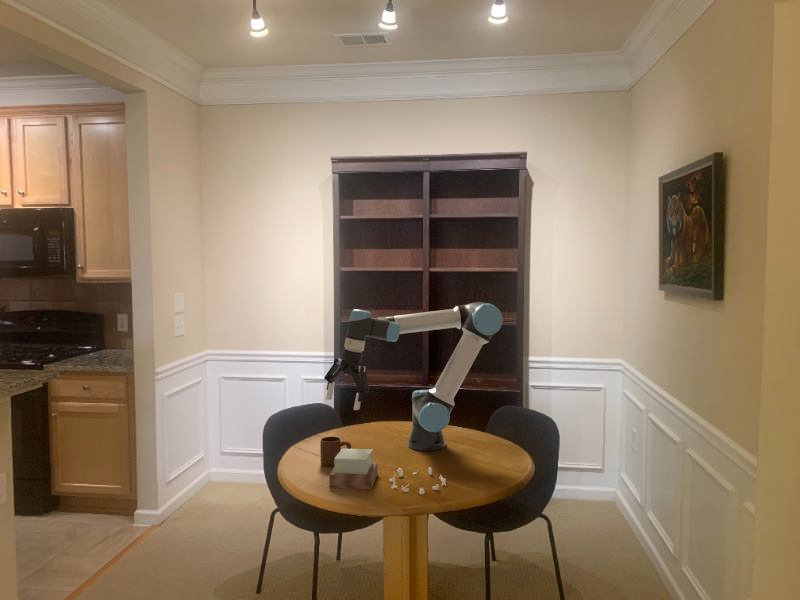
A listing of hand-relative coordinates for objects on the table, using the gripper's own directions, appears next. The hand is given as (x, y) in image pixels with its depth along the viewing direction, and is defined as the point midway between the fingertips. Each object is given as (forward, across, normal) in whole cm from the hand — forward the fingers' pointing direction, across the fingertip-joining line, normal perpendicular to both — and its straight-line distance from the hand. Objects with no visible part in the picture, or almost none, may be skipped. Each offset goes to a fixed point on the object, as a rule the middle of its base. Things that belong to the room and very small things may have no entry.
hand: (342, 404), depth 220 cm
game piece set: (+16, +40, -3) cm, 43 cm away
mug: (+22, +5, -2) cm, 22 cm away
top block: (+16, +20, -13) cm, 28 cm away
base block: (+21, +21, -12) cm, 32 cm away
